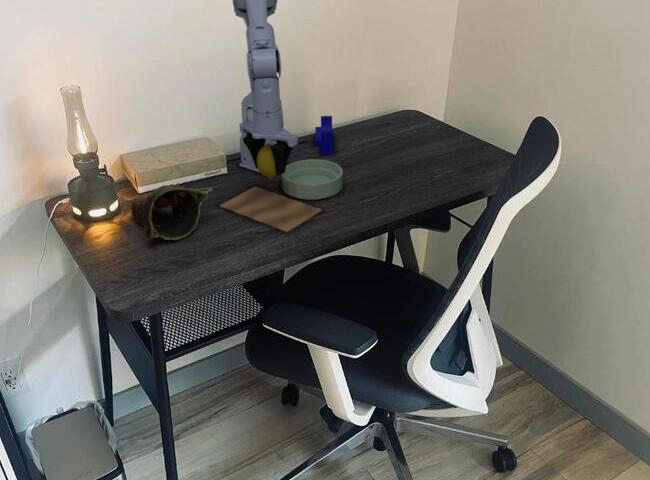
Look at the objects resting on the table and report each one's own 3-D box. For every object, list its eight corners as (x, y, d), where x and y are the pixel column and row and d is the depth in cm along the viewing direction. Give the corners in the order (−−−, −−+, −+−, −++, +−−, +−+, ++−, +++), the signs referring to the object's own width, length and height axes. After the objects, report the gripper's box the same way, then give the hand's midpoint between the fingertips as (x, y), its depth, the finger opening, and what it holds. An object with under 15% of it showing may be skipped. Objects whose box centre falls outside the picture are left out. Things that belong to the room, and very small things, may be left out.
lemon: (280, 184, 143) (278, 149, 138) (255, 183, 144) (252, 148, 139) (285, 174, 147) (284, 139, 143) (261, 172, 148) (259, 138, 144)
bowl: (269, 190, 157) (269, 174, 155) (307, 169, 166) (307, 154, 164) (317, 206, 149) (317, 190, 147) (354, 184, 158) (354, 168, 156)
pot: (160, 163, 149) (199, 163, 135) (188, 204, 155) (228, 207, 141) (101, 211, 143) (136, 216, 129) (133, 251, 148) (169, 260, 134)
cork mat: (219, 206, 151) (219, 205, 151) (255, 187, 158) (255, 186, 158) (287, 232, 140) (287, 231, 140) (322, 210, 148) (322, 209, 147)
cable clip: (315, 137, 183) (315, 116, 180) (332, 137, 183) (331, 115, 180) (315, 154, 173) (315, 132, 170) (333, 154, 173) (333, 132, 170)
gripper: (227, 107, 138) (233, 168, 146) (280, 121, 131) (283, 185, 138) (250, 98, 143) (254, 157, 150) (303, 111, 135) (305, 173, 143)
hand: (270, 170), depth 145 cm, fingers closed on lemon, 5 cm apart
